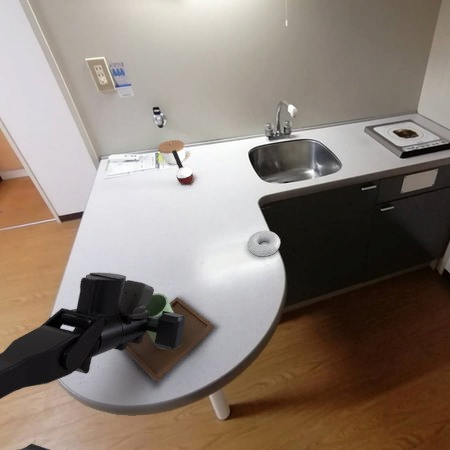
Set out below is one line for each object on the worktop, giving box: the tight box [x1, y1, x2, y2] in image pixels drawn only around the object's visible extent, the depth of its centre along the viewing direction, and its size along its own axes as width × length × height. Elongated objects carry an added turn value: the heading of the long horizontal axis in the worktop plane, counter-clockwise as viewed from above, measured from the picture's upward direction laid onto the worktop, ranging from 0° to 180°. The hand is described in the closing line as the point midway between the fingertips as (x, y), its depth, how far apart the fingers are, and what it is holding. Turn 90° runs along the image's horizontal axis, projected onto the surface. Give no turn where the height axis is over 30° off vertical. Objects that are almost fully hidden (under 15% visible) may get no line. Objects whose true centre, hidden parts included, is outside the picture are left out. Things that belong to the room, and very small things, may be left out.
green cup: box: [145, 292, 174, 349], centre depth 68 cm, size 6×6×12 cm
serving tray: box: [124, 297, 214, 384], centre depth 71 cm, size 16×14×2 cm
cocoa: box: [172, 150, 194, 186], centre depth 120 cm, size 10×6×12 cm, turn 14°
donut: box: [247, 230, 281, 257], centre depth 94 cm, size 10×3×10 cm
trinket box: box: [157, 139, 186, 166], centre depth 134 cm, size 11×11×9 cm
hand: (163, 315), depth 68 cm, fingers closed on green cup, 6 cm apart
